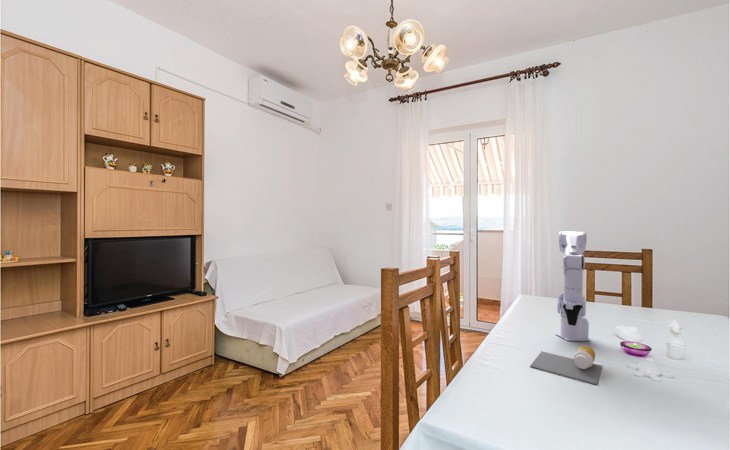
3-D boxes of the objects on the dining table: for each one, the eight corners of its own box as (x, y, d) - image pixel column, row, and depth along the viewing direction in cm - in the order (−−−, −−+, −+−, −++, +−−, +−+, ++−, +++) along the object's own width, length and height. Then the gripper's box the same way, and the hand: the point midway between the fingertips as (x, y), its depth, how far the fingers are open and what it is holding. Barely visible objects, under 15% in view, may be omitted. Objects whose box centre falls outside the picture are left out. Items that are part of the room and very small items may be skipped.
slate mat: (541, 352, 121) (541, 351, 121) (602, 366, 109) (602, 365, 109) (530, 367, 109) (530, 365, 109) (596, 385, 97) (596, 383, 97)
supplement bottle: (597, 362, 111) (593, 372, 103) (578, 360, 114) (573, 370, 107) (594, 345, 111) (590, 354, 104) (575, 344, 115) (570, 353, 107)
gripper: (583, 292, 112) (582, 332, 112) (588, 286, 123) (587, 322, 123) (559, 289, 116) (558, 328, 117) (566, 283, 128) (566, 318, 128)
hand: (572, 324), depth 120 cm, fingers closed
